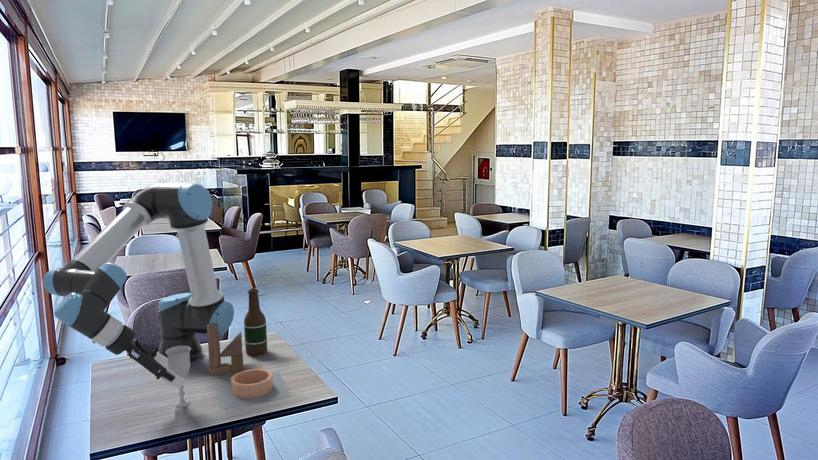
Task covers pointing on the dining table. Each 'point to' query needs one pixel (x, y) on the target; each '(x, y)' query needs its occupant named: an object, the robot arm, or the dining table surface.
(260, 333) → the beer bottle
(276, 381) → the slate board
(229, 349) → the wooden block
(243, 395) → the ceramic collar
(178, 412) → the dining table surface
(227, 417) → the dining table surface
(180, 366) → the chalice
